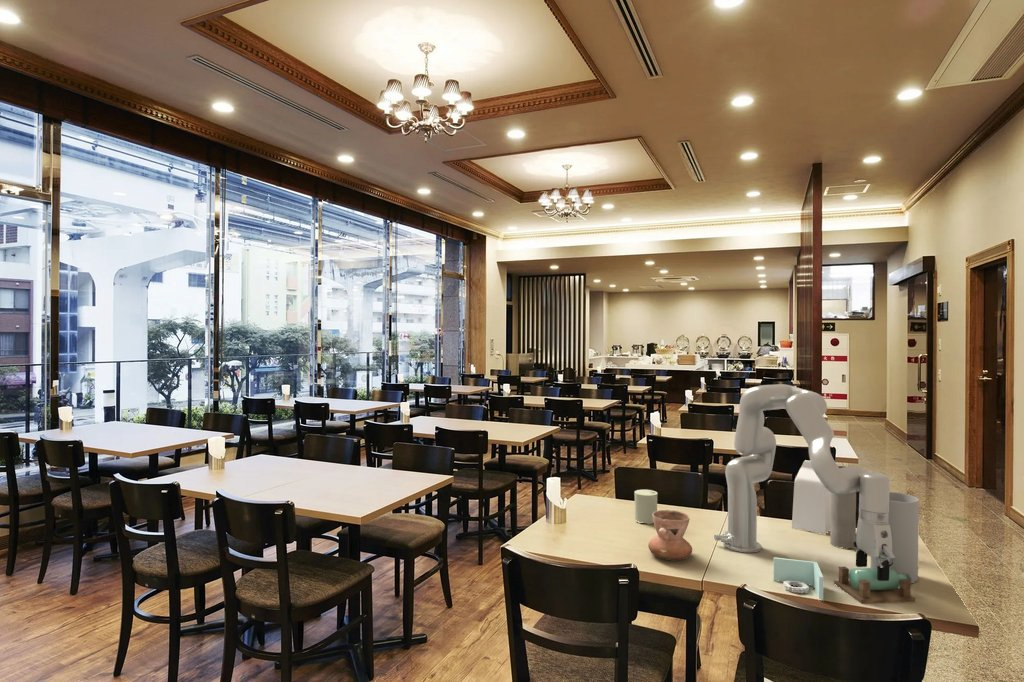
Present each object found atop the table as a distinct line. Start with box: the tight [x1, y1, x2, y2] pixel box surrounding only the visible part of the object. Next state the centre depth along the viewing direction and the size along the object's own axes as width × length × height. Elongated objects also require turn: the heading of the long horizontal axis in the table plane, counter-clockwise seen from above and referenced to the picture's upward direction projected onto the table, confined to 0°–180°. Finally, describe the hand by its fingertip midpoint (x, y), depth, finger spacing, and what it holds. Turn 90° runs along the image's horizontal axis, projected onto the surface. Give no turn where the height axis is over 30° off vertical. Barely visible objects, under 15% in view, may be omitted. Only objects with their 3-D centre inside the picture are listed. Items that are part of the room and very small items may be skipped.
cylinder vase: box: [870, 491, 920, 584], centre depth 188 cm, size 12×12×25 cm
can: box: [633, 489, 658, 523], centre depth 244 cm, size 9×9×12 cm
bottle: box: [849, 567, 912, 591], centre depth 177 cm, size 16×6×6 cm, turn 93°
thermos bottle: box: [829, 465, 857, 549], centre depth 216 cm, size 8×8×28 cm
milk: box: [791, 459, 831, 535], centre depth 235 cm, size 12×12×26 cm
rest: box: [833, 566, 917, 604], centre depth 177 cm, size 16×13×6 cm
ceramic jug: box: [647, 509, 693, 561], centre depth 206 cm, size 18×14×14 cm
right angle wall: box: [773, 556, 824, 601], centre depth 178 cm, size 12×12×8 cm
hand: (871, 573), depth 177 cm, fingers open, 9 cm apart
